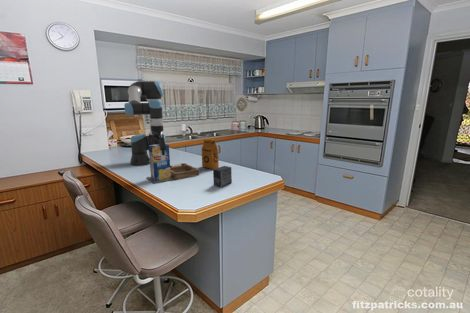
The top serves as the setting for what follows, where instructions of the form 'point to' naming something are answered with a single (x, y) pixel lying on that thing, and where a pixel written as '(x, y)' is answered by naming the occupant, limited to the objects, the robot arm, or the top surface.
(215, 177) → the small box
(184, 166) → the frame
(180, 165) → the offcut stack
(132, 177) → the top surface
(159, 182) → the mat
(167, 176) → the beverage box
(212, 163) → the coffee package
